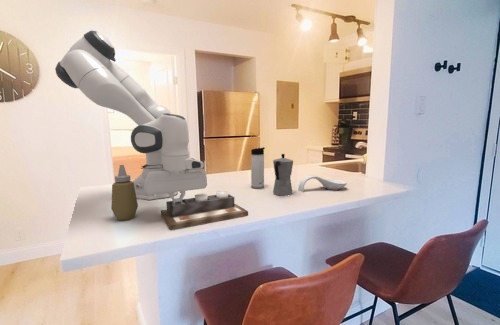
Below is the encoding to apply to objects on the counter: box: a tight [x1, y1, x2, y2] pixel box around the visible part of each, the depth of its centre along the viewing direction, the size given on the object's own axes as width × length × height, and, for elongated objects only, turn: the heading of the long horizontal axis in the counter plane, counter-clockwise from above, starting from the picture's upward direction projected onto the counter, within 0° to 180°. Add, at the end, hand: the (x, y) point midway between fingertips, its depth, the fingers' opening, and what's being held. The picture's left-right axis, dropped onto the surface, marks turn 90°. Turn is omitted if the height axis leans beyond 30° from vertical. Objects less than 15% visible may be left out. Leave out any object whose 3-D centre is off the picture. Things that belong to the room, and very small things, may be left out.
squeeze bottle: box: [111, 164, 139, 221], centre depth 88 cm, size 8×8×18 cm
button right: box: [215, 190, 229, 199], centre depth 97 cm, size 4×4×3 cm
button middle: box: [194, 193, 209, 202], centre depth 93 cm, size 4×4×3 cm
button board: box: [160, 193, 249, 231], centre depth 91 cm, size 26×16×5 cm, turn 119°
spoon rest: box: [297, 174, 348, 192], centre depth 127 cm, size 24×12×7 cm, turn 106°
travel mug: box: [250, 147, 266, 190], centre depth 130 cm, size 6×7×20 cm
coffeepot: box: [272, 153, 294, 197], centre depth 118 cm, size 15×9×18 cm, turn 153°
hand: (177, 204), depth 89 cm, fingers closed, pressing on button left
